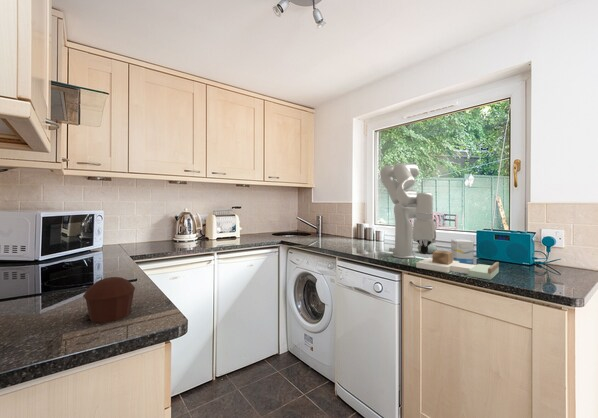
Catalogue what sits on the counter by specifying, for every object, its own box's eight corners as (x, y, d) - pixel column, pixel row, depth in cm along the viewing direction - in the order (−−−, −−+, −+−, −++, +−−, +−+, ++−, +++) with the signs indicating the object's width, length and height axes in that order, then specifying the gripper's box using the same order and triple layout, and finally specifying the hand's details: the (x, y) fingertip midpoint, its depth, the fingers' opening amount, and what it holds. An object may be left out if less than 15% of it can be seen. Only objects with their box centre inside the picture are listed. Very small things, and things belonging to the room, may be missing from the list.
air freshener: (439, 254, 171) (439, 237, 171) (428, 254, 168) (429, 238, 168) (425, 251, 182) (425, 235, 181) (415, 251, 179) (415, 236, 178)
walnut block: (432, 262, 135) (432, 252, 135) (437, 260, 140) (437, 250, 140) (448, 264, 130) (448, 254, 130) (452, 262, 135) (452, 252, 135)
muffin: (108, 306, 81) (108, 272, 81) (144, 308, 80) (144, 273, 80) (71, 324, 69) (70, 284, 69) (113, 327, 68) (112, 286, 68)
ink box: (473, 264, 143) (474, 241, 143) (455, 263, 145) (456, 241, 145) (467, 260, 152) (467, 239, 151) (450, 260, 153) (450, 238, 153)
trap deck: (416, 267, 135) (416, 258, 134) (429, 261, 148) (429, 253, 147) (490, 279, 114) (490, 268, 114) (498, 272, 127) (498, 262, 127)
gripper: (406, 217, 143) (406, 253, 143) (437, 217, 132) (437, 256, 132) (412, 217, 148) (412, 251, 148) (442, 217, 138) (442, 254, 138)
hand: (424, 253), depth 140 cm, fingers closed
